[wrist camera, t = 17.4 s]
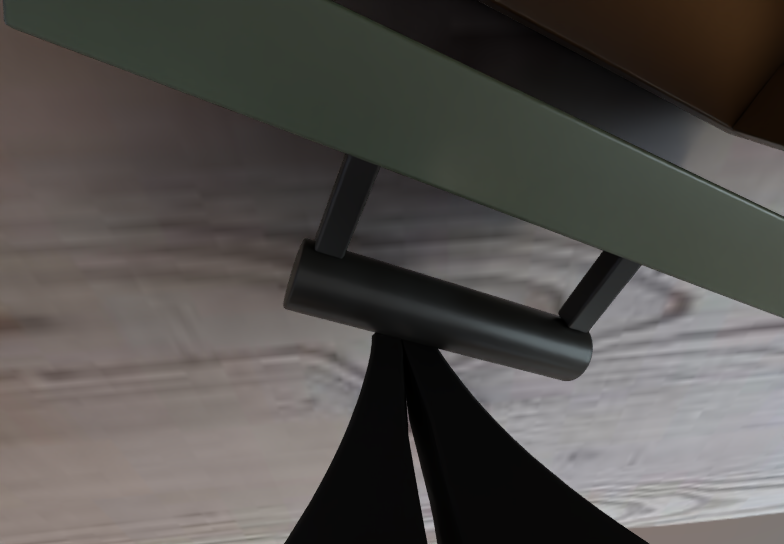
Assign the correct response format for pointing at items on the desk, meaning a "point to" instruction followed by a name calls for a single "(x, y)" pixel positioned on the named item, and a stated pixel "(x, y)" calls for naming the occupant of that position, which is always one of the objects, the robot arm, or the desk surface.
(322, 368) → the desk surface
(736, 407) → the desk surface
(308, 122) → the drawer
